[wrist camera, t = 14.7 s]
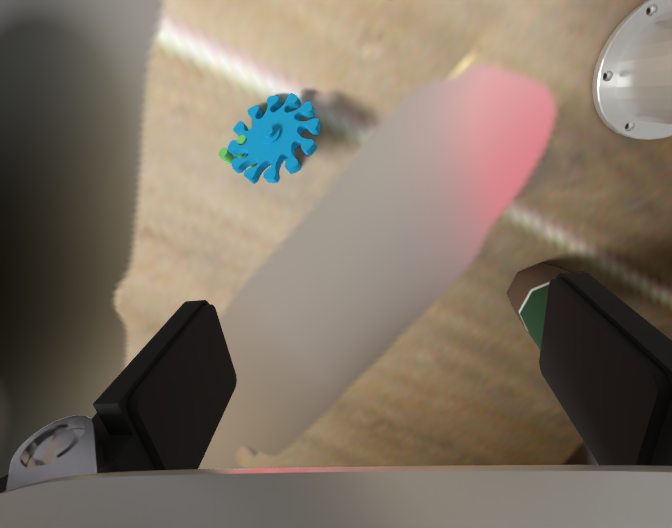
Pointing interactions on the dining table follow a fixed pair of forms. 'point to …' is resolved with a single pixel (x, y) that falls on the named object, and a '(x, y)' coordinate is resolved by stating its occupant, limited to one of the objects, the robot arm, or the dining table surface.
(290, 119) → the gear
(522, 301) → the beer bottle
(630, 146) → the dining table surface
